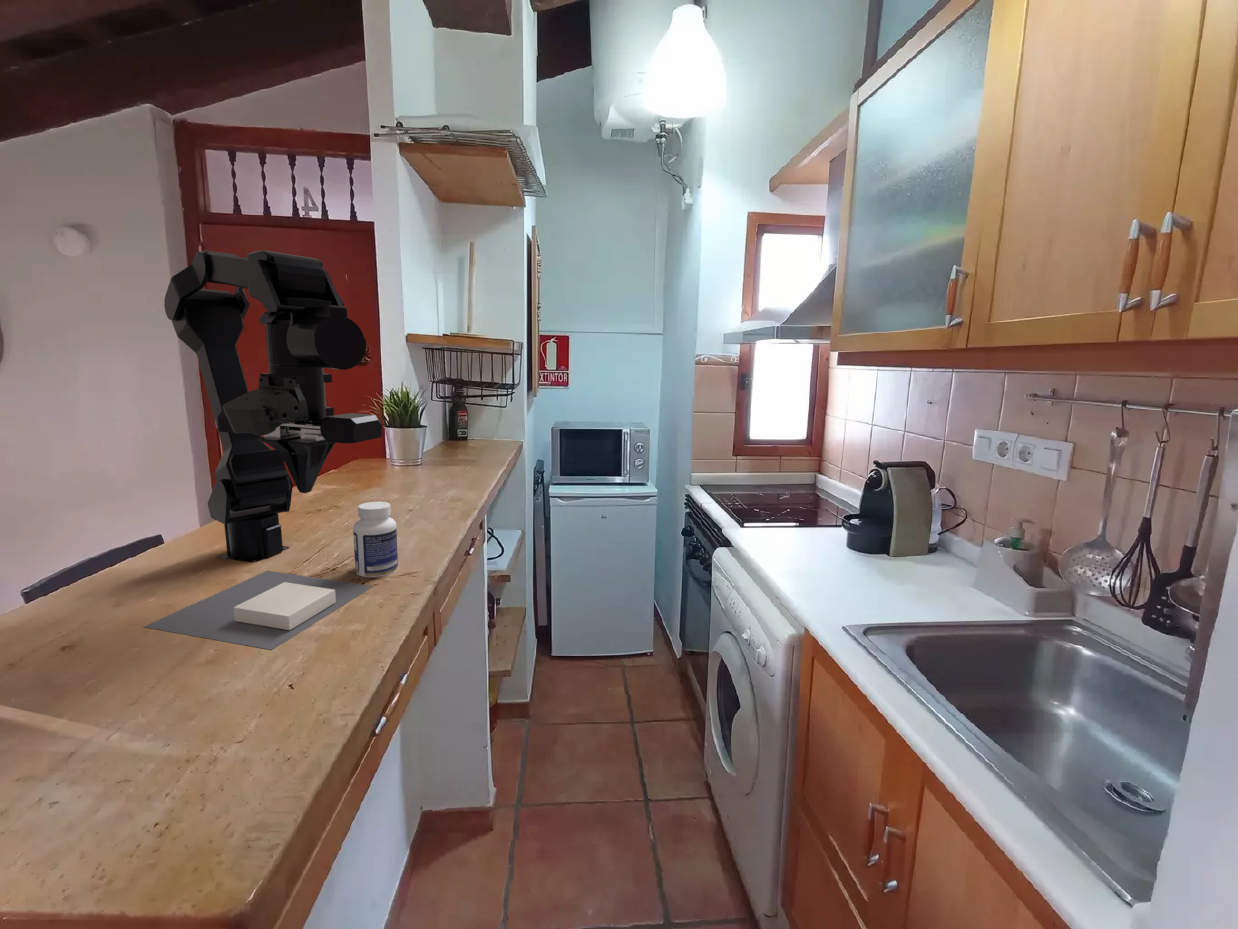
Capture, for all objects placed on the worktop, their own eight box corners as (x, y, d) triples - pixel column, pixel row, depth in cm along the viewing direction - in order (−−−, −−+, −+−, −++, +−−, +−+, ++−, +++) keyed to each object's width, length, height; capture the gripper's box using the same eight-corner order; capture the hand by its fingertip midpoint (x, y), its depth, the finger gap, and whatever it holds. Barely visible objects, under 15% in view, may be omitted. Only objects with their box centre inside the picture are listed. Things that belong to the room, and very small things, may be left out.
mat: (143, 631, 59) (143, 626, 59) (267, 574, 74) (267, 570, 74) (272, 655, 56) (271, 649, 55) (373, 590, 71) (373, 586, 71)
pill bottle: (406, 569, 78) (404, 503, 76) (378, 584, 73) (375, 513, 71) (375, 563, 80) (373, 497, 78) (346, 576, 75) (342, 507, 73)
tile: (233, 607, 60) (288, 616, 59) (284, 582, 67) (335, 589, 65) (234, 622, 60) (289, 631, 59) (285, 595, 67) (335, 603, 66)
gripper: (165, 361, 60) (181, 500, 63) (312, 371, 56) (322, 518, 59) (253, 361, 71) (263, 480, 74) (382, 368, 67) (387, 493, 70)
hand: (305, 492), depth 69 cm, fingers closed
